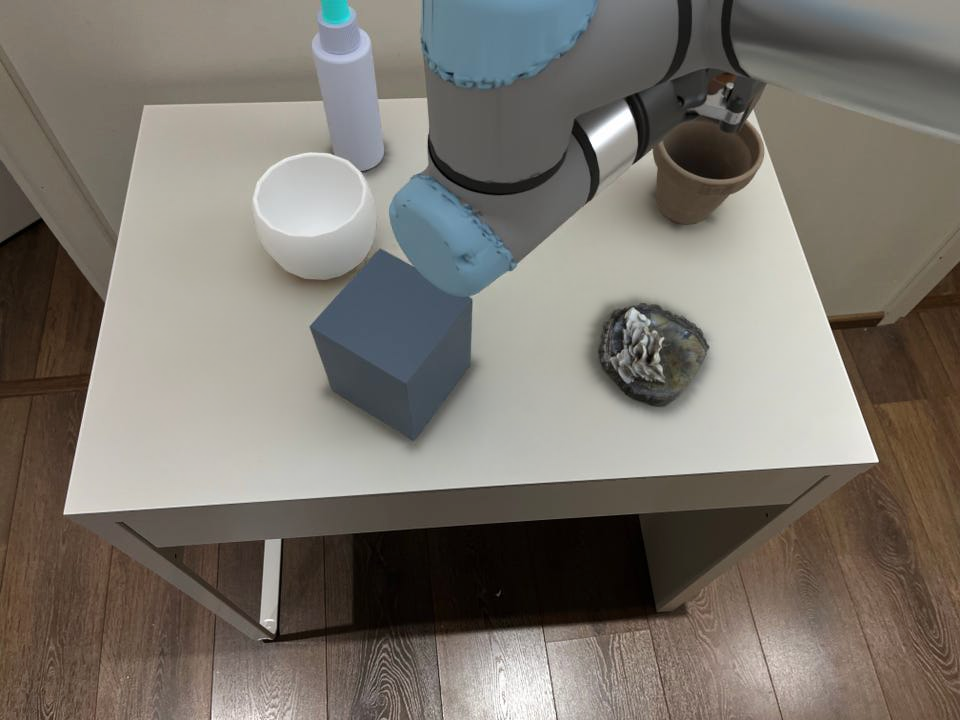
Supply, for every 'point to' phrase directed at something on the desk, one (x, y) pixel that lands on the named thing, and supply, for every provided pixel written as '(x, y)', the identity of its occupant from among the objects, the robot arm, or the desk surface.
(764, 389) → the desk surface
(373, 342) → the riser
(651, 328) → the grey rough lump
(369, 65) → the spray bottle
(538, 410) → the desk surface
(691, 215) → the flower pot
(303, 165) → the cup
